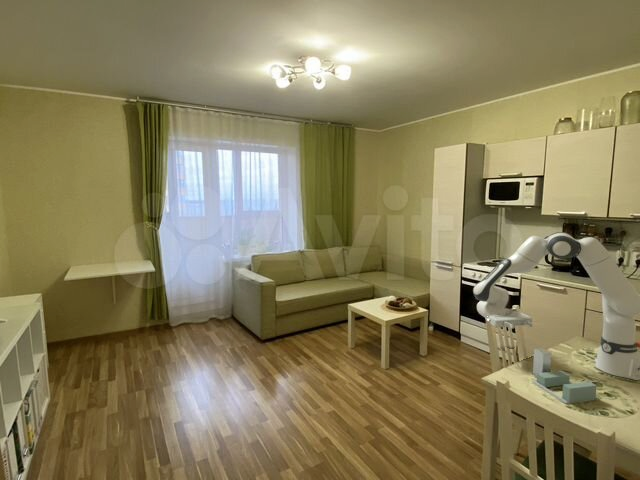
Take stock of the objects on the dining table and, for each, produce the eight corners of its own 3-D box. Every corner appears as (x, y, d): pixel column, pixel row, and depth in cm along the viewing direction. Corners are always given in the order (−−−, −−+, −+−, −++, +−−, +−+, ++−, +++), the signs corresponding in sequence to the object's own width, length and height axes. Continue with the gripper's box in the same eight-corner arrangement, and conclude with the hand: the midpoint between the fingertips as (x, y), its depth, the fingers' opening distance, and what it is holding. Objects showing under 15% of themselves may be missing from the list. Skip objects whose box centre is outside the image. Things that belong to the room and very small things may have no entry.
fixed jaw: (563, 379, 148) (563, 365, 147) (599, 399, 132) (600, 384, 132) (532, 382, 145) (533, 369, 145) (565, 404, 130) (566, 389, 129)
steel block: (540, 373, 153) (542, 347, 152) (549, 379, 148) (551, 352, 147) (532, 374, 152) (534, 348, 151) (541, 380, 147) (543, 353, 146)
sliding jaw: (560, 379, 147) (561, 370, 147) (569, 384, 143) (569, 375, 143) (536, 382, 145) (537, 373, 145) (544, 387, 141) (544, 378, 141)
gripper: (483, 311, 171) (503, 321, 158) (519, 309, 175) (541, 318, 161) (483, 323, 172) (502, 334, 158) (518, 321, 176) (540, 331, 162)
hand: (522, 326), depth 160 cm, fingers open, 8 cm apart
